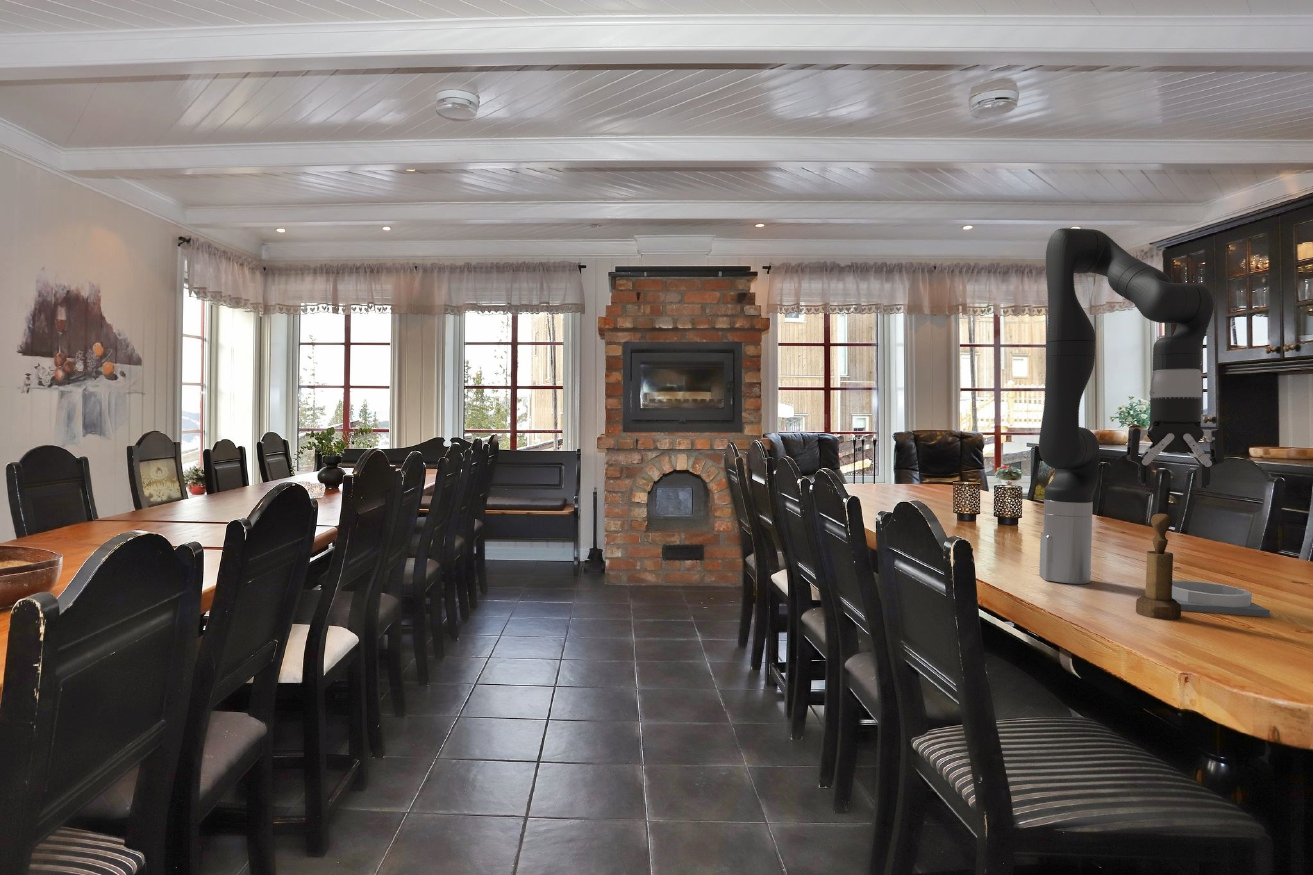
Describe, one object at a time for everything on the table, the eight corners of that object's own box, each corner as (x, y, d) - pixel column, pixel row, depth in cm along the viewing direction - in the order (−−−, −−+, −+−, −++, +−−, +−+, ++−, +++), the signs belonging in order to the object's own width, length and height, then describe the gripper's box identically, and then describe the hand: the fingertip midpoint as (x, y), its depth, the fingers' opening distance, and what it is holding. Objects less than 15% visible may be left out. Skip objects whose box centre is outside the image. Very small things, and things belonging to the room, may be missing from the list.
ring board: (1178, 610, 135) (1179, 592, 135) (1149, 593, 149) (1150, 577, 149) (1269, 616, 132) (1270, 599, 132) (1231, 599, 145) (1231, 583, 145)
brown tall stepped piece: (1137, 616, 130) (1140, 514, 130) (1133, 608, 136) (1137, 510, 136) (1183, 621, 127) (1187, 516, 127) (1177, 613, 133) (1181, 513, 133)
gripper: (1136, 395, 130) (1134, 487, 131) (1232, 395, 126) (1230, 490, 126) (1123, 396, 138) (1121, 484, 138) (1213, 397, 133) (1211, 487, 134)
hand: (1173, 487), depth 132 cm, fingers open, 8 cm apart
